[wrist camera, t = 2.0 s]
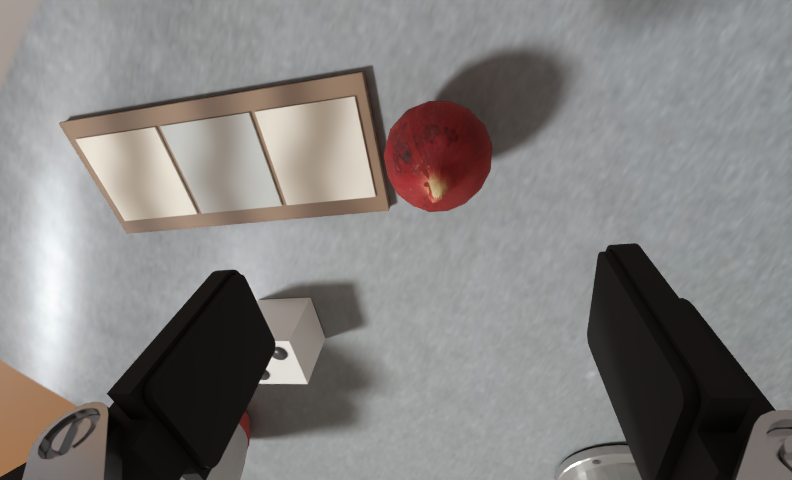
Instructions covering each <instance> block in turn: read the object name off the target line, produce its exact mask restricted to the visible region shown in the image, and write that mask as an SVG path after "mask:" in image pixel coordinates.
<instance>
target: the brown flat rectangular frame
mask: <svg viewBox="0 0 792 480" xmlns="http://www.w3.org/2000/svg"><path fill="white" fill-rule="evenodd" d="M59 125H60V126H61V128H62V129H63V131H64V133H65V134H66V136H67V138H68V139H69V141H70V142H71V144H72V146H73V147H74V149H75V151H76V152H77V154H78V155H79V157H80V159H81V160H82V162H83V164H84V165H85V167H86V168H87V170H88V172H89V173H90V175H91V176H92V178H93V180H94V181H95V183H96V185H97V186H98V188H99V189H100V191H101V193H102V194H103V196H104V198H105V199H106V201H107V202H108V204H109V206H110V207H111V209H112V211H113V212H114V214H115V215H116V217H117V219H118V220H119V222H120V223H121V225H122V227H123V228H124V230H125V232H126V233H127V234H129V233H141V232H152V231H163V230H175V229H186V228H197V227H208V226H220V225H231V224H242V223H253V222H265V221H276V220H287V219H299V218H310V217H321V216H332V215H344V214H355V213H366V212H377V211H389V209H390V203H389V198H388V193H387V188H386V183H385V177H384V172H383V167H382V162H381V157H380V151H379V146H378V141H377V136H376V131H375V125H374V120H373V115H372V110H371V105H370V99H369V94H368V89H367V84H366V79H365V73H364V71H362V72H356V73H350V74H344V75H338V76H332V77H326V78H320V79H314V80H308V81H302V82H296V83H290V84H284V85H278V86H272V87H266V88H260V89H254V90H248V91H242V92H236V93H230V94H224V95H218V96H212V97H206V98H200V99H194V100H188V101H182V102H176V103H170V104H164V105H158V106H152V107H146V108H140V109H134V110H128V111H122V112H116V113H110V114H104V115H98V116H92V117H86V118H80V119H74V120H68V121H64V122H60V123H59Z"/></svg>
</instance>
